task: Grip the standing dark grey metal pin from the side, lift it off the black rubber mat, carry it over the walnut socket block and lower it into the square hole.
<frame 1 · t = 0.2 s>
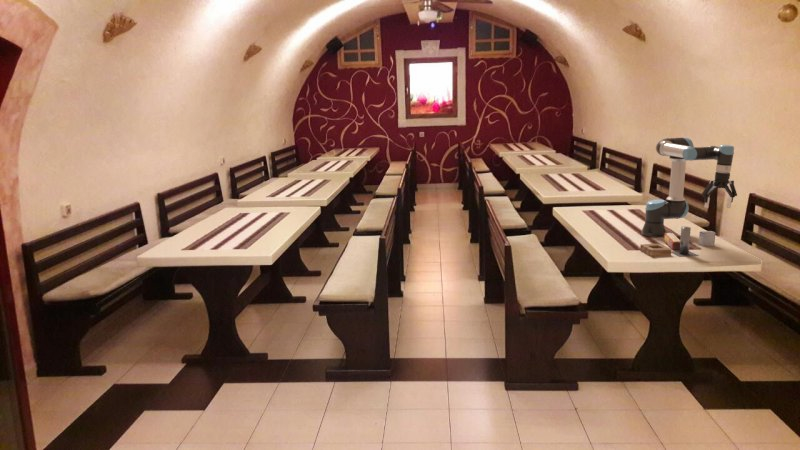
hand: (717, 207, 340), 27 cm above the table, tool pointing down, fingers open, 13 cm apart
pin: (683, 253, 344), resting on mat
medicine box: (706, 245, 362), on the table
snack package: (672, 247, 362), on the table
mat: (683, 254, 344), on the table
socket block: (655, 253, 348), on the table
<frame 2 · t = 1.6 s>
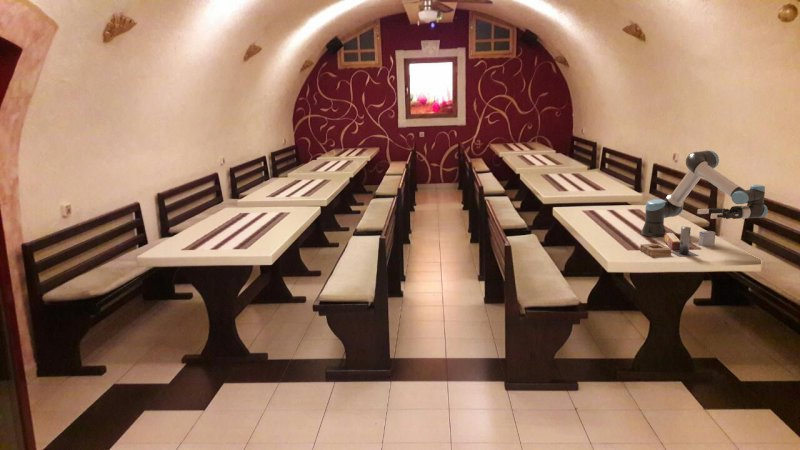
hand: (704, 213, 339), 24 cm above the table, tool horizontal, fingers open, 13 cm apart
nothing on the table moved.
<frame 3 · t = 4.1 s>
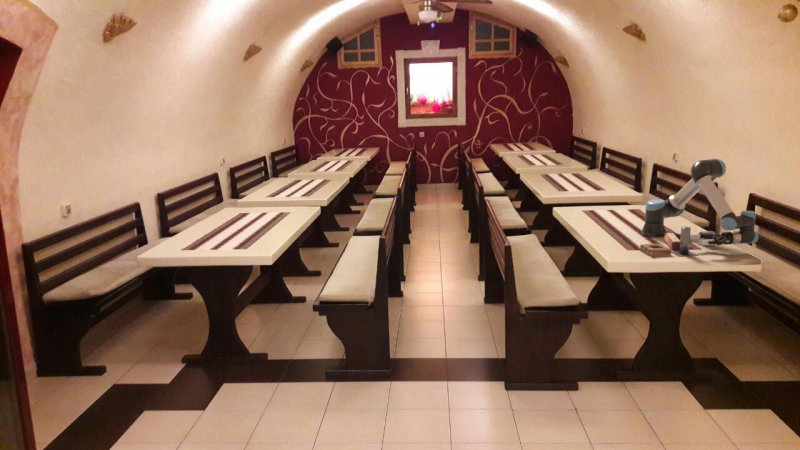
hand: (695, 239, 342), 9 cm above the table, tool horizontal, fingers open, 13 cm apart
nothing on the table moved.
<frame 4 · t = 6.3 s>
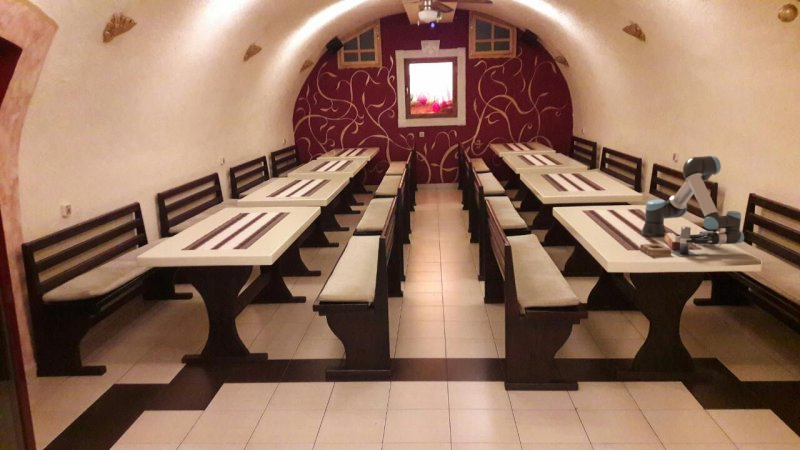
hand: (678, 240, 342), 9 cm above the table, tool horizontal, fingers closed on pin, 5 cm apart
pin: (683, 253, 344), resting on mat, touching gripper
everything else where it was.
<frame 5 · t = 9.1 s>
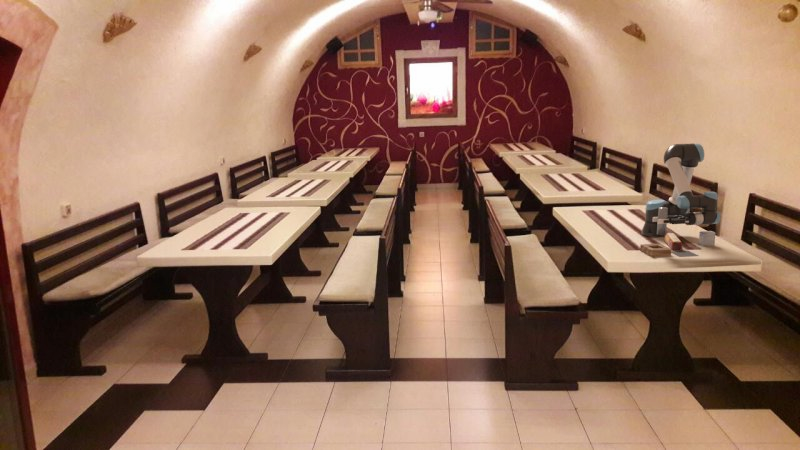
hand: (655, 220, 342), 21 cm above the table, tool horizontal, fingers closed on pin, 5 cm apart
pin: (661, 234, 344), point 12 cm above the table, touching gripper
everything else where it was.
when the fingers open (10 cm above the table, at t = 12.2 s): pin drops 1 cm, resting in socket block.
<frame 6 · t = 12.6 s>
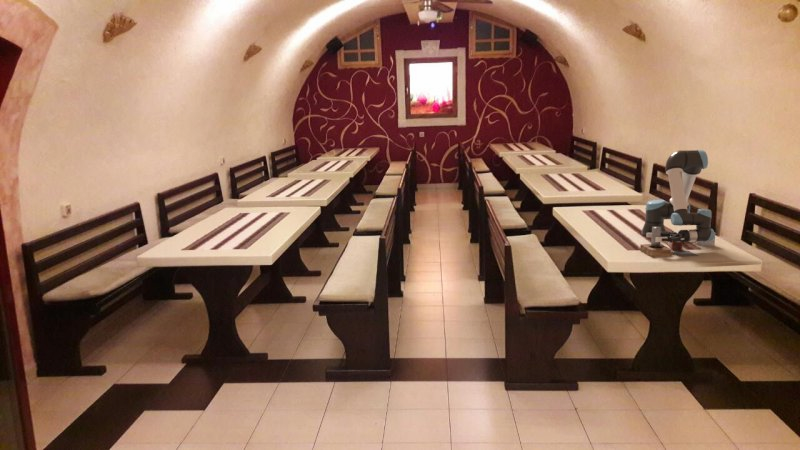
hand: (651, 237, 346), 10 cm above the table, tool horizontal, fingers open, 10 cm apart
pin: (655, 253, 348), resting in socket block
everything else where it was.
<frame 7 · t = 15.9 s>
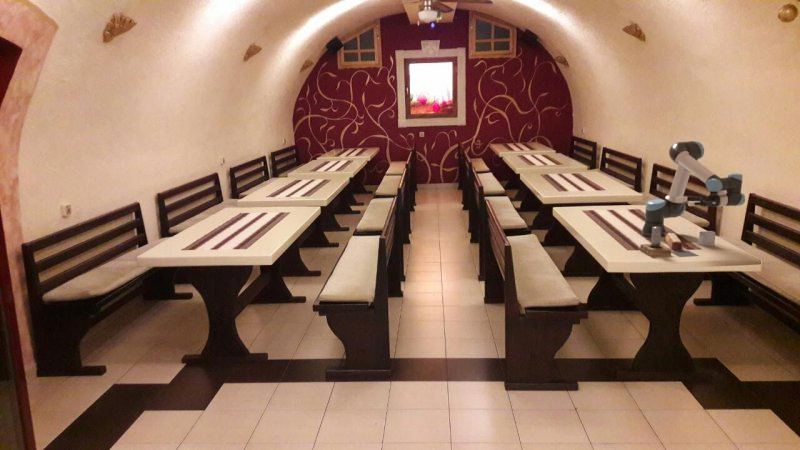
hand: (682, 201, 344), 31 cm above the table, tool horizontal, fingers open, 13 cm apart
nothing on the table moved.
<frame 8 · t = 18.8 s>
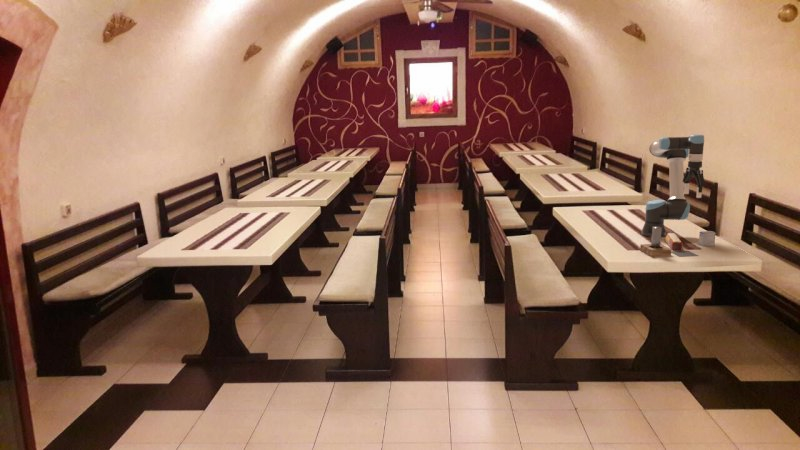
hand: (692, 195, 350), 33 cm above the table, tool pointing down, fingers open, 13 cm apart
nothing on the table moved.
at the end: pin 0.1 cm off-centre on the socket block, point 0.0 cm above the socket block's base; pin tilted 0°; the gripper is holding nothing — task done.
